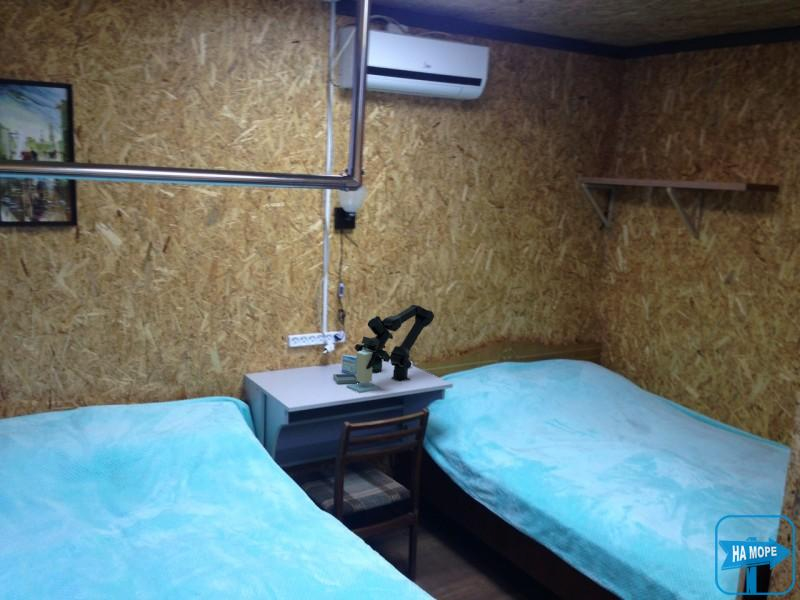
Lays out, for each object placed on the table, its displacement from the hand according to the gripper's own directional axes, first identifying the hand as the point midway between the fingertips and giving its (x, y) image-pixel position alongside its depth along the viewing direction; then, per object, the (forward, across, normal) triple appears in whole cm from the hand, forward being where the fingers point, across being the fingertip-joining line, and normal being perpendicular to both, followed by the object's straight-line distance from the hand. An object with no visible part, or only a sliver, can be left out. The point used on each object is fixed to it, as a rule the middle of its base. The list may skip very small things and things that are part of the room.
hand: (362, 367), depth 310 cm
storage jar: (-11, -19, +26) cm, 34 cm away
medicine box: (-3, -23, +18) cm, 29 cm away
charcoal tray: (+5, -14, +10) cm, 17 cm away
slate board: (+6, 0, +8) cm, 10 cm away
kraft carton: (+4, 0, +6) cm, 7 cm away
